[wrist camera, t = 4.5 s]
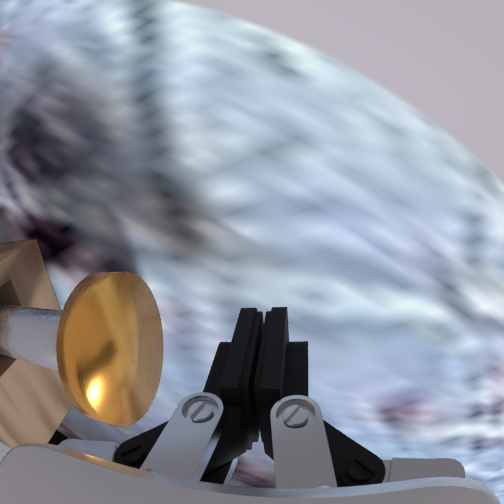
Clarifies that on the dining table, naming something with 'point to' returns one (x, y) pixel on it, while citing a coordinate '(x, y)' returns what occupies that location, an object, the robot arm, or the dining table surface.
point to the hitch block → (20, 372)
